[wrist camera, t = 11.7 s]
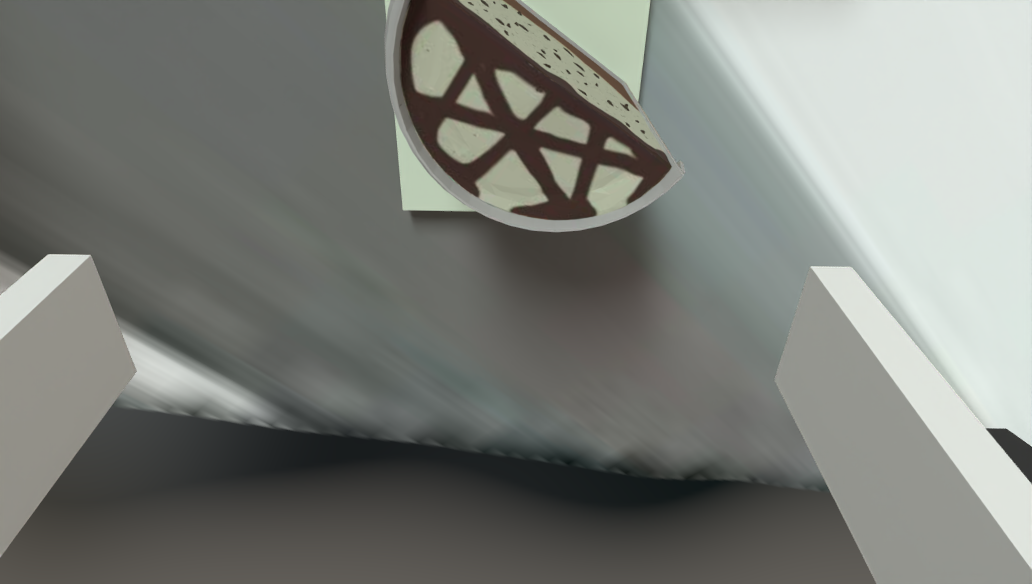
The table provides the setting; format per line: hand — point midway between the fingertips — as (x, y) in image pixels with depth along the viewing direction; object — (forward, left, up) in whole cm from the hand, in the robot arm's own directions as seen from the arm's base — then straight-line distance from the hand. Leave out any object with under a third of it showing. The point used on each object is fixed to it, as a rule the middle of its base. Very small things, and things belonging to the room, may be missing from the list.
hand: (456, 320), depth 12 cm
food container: (+1, -1, -22) cm, 22 cm away
